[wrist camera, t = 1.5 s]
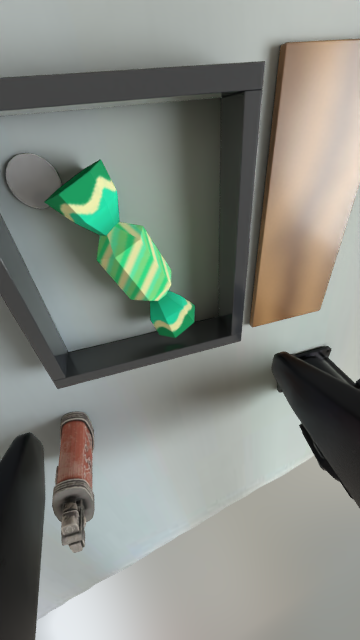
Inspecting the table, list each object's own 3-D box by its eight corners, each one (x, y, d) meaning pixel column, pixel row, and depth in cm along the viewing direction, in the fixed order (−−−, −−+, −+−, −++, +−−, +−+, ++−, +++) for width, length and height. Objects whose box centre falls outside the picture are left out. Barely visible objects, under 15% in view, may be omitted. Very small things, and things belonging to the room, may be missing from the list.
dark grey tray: (237, 72, 14) (265, 60, 12) (227, 322, 25) (241, 341, 23) (-83, 95, 12) (-126, 85, 9) (61, 363, 23) (57, 389, 20)
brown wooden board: (396, 39, 15) (406, 36, 15) (316, 307, 28) (320, 310, 27) (279, 45, 14) (286, 42, 14) (249, 324, 26) (252, 327, 26)
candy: (35, 206, 14) (69, 188, 12) (74, 173, 16) (113, 151, 13) (149, 333, 22) (186, 340, 19) (169, 303, 23) (206, 306, 21)
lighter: (55, 415, 26) (40, 533, 18) (90, 409, 27) (89, 519, 19) (67, 455, 31) (59, 563, 23) (96, 449, 32) (98, 551, 24)
